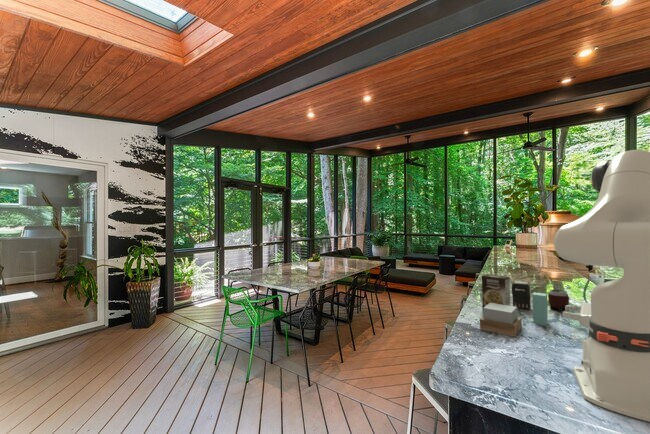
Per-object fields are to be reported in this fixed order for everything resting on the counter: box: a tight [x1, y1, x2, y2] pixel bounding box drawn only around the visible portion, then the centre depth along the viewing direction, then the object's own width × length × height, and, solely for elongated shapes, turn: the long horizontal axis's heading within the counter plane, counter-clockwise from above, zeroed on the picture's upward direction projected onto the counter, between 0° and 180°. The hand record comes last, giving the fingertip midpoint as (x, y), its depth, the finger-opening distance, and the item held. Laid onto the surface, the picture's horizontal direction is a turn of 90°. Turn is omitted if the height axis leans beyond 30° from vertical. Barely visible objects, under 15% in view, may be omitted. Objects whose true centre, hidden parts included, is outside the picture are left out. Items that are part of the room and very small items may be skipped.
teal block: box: [531, 292, 549, 327], centre depth 113 cm, size 4×4×11 cm
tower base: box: [479, 316, 523, 337], centre depth 109 cm, size 11×11×4 cm
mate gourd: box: [544, 272, 570, 312], centre depth 130 cm, size 8×8×15 cm
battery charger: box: [511, 281, 532, 310], centre depth 132 cm, size 7×4×11 cm, turn 47°
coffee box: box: [481, 273, 511, 309], centre depth 125 cm, size 9×6×16 cm
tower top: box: [482, 303, 518, 324], centre depth 109 cm, size 9×9×4 cm
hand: (564, 310), depth 108 cm, fingers open, 8 cm apart
